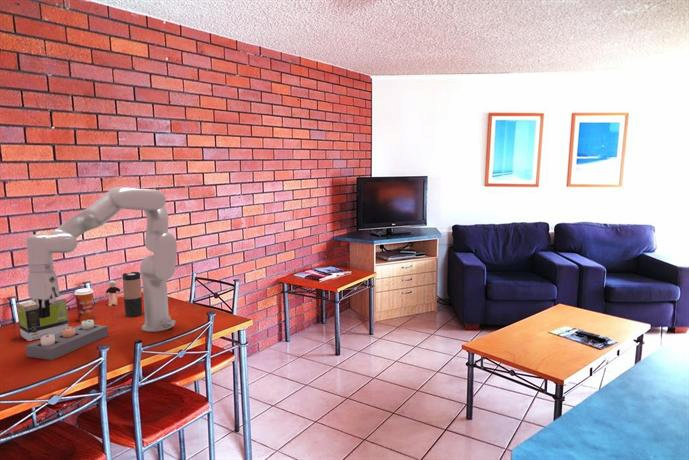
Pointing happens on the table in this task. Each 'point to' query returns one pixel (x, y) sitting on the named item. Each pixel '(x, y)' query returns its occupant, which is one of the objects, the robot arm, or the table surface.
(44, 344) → the white round knob
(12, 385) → the table surface
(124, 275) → the travel mug
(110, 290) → the grandmother figurine
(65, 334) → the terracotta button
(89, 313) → the paper cup
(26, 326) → the tea box
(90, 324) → the sage button
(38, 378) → the table surface
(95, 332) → the button panel
